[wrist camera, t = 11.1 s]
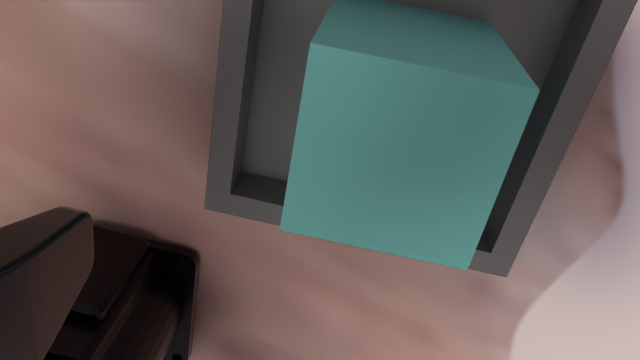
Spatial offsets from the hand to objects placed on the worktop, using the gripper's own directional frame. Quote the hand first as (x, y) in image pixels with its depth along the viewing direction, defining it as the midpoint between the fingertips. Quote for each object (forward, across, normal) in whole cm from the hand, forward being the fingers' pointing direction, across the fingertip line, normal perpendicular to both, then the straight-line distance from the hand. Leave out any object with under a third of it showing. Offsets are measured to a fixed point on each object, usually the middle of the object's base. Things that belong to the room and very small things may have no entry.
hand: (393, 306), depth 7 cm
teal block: (+10, 0, 0) cm, 10 cm away
